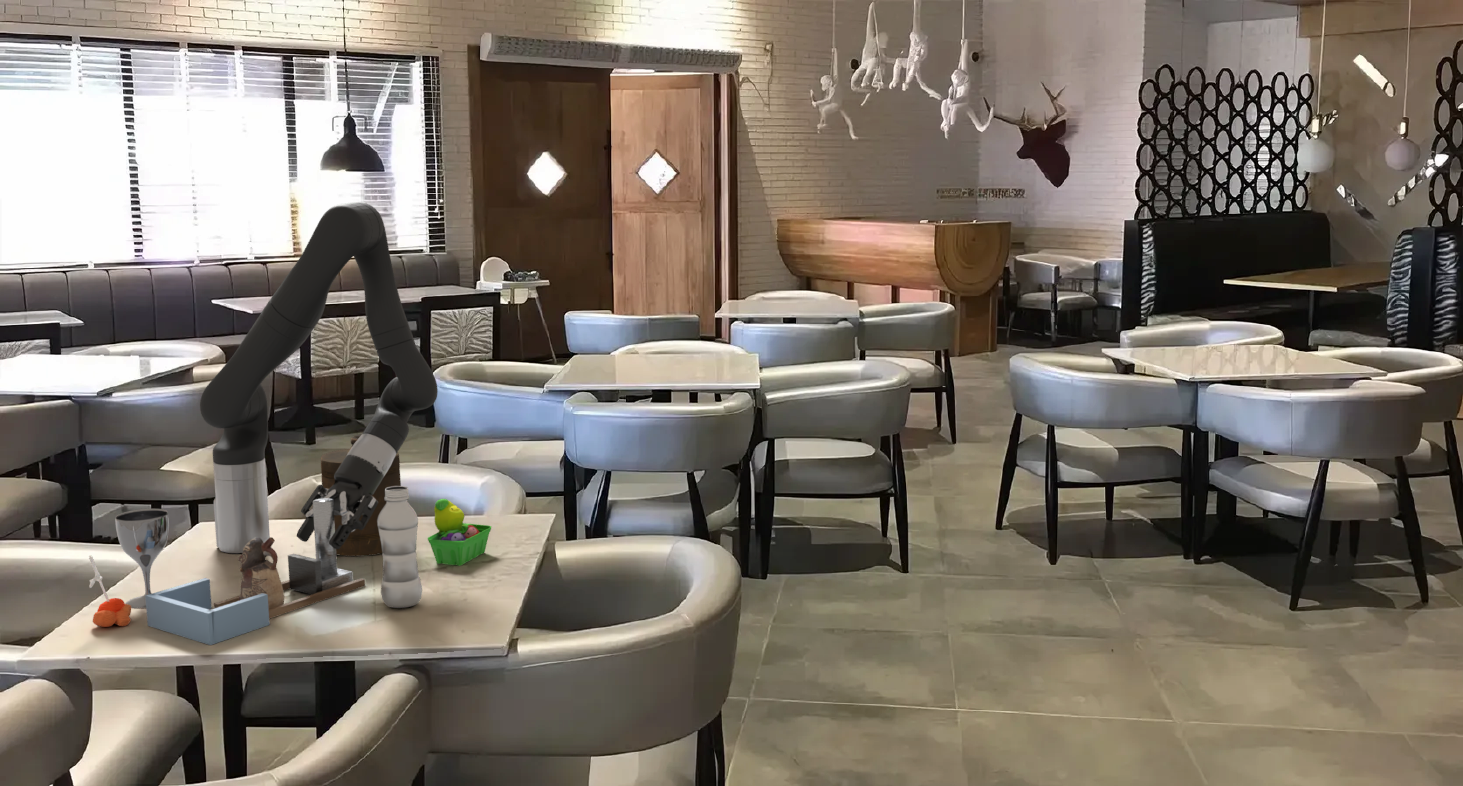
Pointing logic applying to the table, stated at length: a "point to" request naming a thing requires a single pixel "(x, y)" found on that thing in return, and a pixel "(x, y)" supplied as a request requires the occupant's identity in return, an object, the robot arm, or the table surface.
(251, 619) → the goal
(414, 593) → the plastic bottle
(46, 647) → the table surface
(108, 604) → the orange lumpy food
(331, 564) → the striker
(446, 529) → the fruit basket
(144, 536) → the wine glass
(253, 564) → the figurine
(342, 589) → the lane rails
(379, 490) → the wooden container
